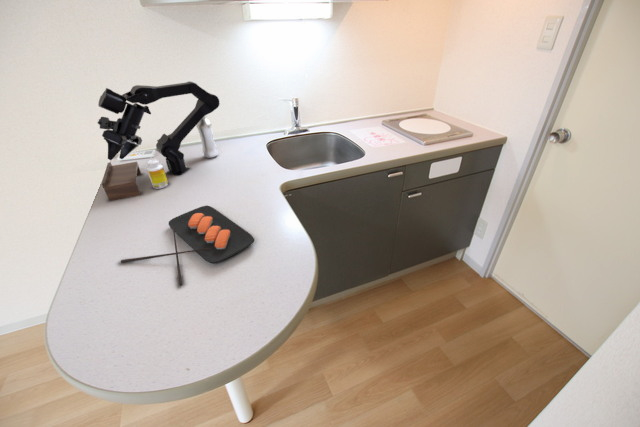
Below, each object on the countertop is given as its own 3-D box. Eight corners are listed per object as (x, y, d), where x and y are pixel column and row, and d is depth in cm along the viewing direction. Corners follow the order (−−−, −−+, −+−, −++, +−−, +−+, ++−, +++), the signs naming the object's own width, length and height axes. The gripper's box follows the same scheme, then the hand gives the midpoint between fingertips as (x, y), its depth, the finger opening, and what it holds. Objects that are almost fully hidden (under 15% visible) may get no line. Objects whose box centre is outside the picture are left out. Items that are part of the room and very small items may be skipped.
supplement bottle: (171, 185, 120) (163, 161, 114) (156, 190, 117) (147, 165, 111) (165, 181, 123) (157, 157, 118) (150, 186, 120) (141, 161, 114)
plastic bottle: (221, 154, 145) (212, 111, 134) (211, 160, 140) (201, 115, 129) (211, 152, 147) (201, 110, 136) (201, 158, 142) (189, 114, 131)
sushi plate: (259, 245, 88) (257, 234, 86) (151, 306, 70) (146, 294, 68) (208, 208, 105) (206, 198, 103) (112, 250, 88) (106, 239, 86)
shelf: (114, 178, 126) (107, 162, 123) (141, 173, 130) (135, 158, 126) (109, 201, 111) (101, 183, 107) (140, 194, 114) (133, 177, 111)
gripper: (119, 111, 119) (104, 148, 121) (94, 105, 101) (77, 149, 103) (148, 125, 122) (134, 161, 123) (129, 121, 104) (112, 164, 106)
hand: (115, 159), depth 114 cm, fingers open, 9 cm apart
